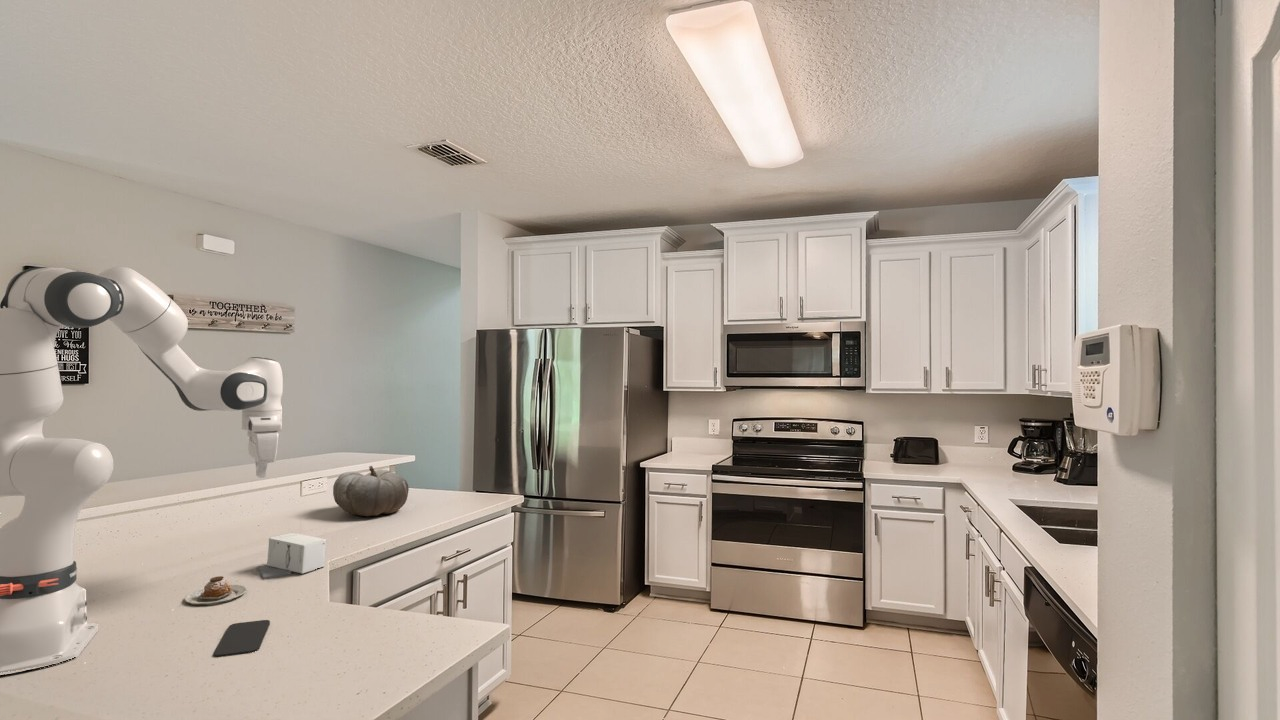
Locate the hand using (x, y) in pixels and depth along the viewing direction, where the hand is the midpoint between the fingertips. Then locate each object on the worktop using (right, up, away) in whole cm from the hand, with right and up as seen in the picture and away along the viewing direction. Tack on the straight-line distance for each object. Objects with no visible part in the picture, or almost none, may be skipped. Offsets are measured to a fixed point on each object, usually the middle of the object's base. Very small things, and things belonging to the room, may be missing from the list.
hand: (260, 476), depth 166 cm
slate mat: (+2, -25, +2) cm, 25 cm away
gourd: (+1, -25, +67) cm, 71 cm away
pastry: (-1, -25, -15) cm, 30 cm away
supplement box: (0, -20, +8) cm, 22 cm away
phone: (+18, -26, -37) cm, 49 cm away
